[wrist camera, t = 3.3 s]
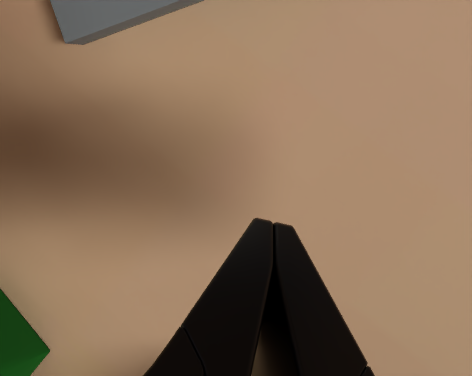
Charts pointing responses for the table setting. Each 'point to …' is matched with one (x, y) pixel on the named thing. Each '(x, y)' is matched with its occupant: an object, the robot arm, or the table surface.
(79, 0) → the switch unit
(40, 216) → the table surface
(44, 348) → the milk carton
